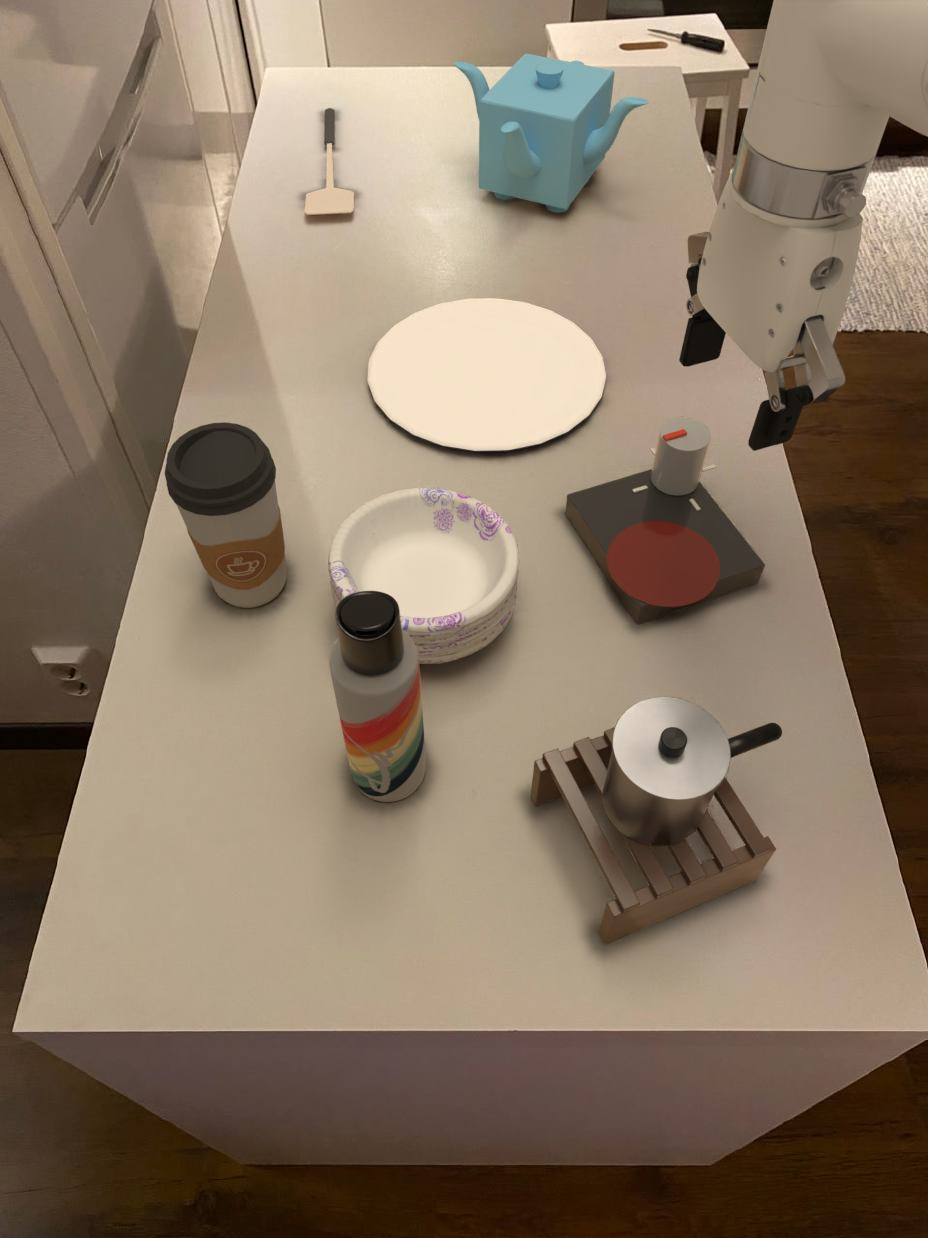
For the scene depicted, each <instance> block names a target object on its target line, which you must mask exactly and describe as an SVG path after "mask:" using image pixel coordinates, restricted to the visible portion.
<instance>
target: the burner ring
mask: <svg viewBox="0 0 928 1238" xmlns="http://www.w3.org/2000/svg"><path fill="white" fill-rule="evenodd" d="M607 566H608V570H609V572H610V575H611V576H612V578H613V580H614V581H615V583H616V584H617V585H618V586H619V587H620V588H621V589H622V590H623V591H624V592H626V593H627V594H628V595H630V596H632V597H633V598H635V599H637V600H639V601H641V602H644V603H647V604H650V605H654V606H660V607H680V606H686V605H689V604H693V603H695V602H697V601H699V600H701V599H703V598H704V597H706V596H707V595H708V594H709V593H710V592H711V591H712V590H713V589H714V587H715V586H716V584H717V582H718V579H719V575H720V563H719V559H718V556H717V554H716V552H715V550H714V549H713V547H712V546H711V545H710V544H709V542H708V541H707V540H706V539H704V538H703V537H702V536H701V535H699V534H698V533H697V532H695V531H693V530H691V529H689V528H687V527H685V526H682V525H679V524H675V523H671V522H664V521H649V522H642V523H639V524H635V525H633V526H630V527H628V528H626V529H624V530H623V531H622V532H620V533H619V534H618V535H617V536H616V537H615V538H614V539H613V541H612V542H611V544H610V546H609V549H608V552H607Z"/></svg>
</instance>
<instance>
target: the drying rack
mask: <svg viewBox="0 0 928 1238" xmlns="http://www.w3.org/2000/svg"><path fill="white" fill-rule="evenodd" d="M614 728H615V726H614V727H610V728H608V729H605V730H604V731H603V734H602V735H601V736H598V737H594V738H590V737H589V736H587V737H583V738H582V739H578V740H576V741H574V742H573V745H572V746H570V747H568V748H565V749H562V750H560V749H559V748H554V749H552V750H549V751H546V752H544V753H542V757H541V758H537V759H536V760H534V763H533V771H532V780H531V787H530V798H531V800H532V802H533V804H534V806H535V807H539V806H541V805H544V804H547V803H548V802H551V801H554V800H556V799H559V798H563V800H564V803H565V804H566V806H567V808H568V810H569V812H570V814H571V816H572V819H573V820H574V822H575V824H576V826H577V828H578V830H579V831H580V833H581V835H582V837H583V839H584V841H585V843H586V845H587V847H588V849H589V850H590V852H591V855H592V857H593V858H594V860H595V862H596V864H597V866H598V868H599V870H600V872H601V874H602V876H603V878H604V880H605V882H606V884H607V886H608V888H609V890H610V891H611V893H612V895H613V897H614V899H613V900H611V901H608V902H607V903H606V904H605V908H604V911H603V915H602V918H601V921H600V924H599V927H598V930H597V933H598V935H599V938H600V939H601V942H602V943H603V945H604V946H606V945H608V944H610V943H613V942H615V941H618V940H620V939H622V938H625V937H628V936H630V935H632V934H635V933H636V932H639V931H641V930H643V929H645V928H648V927H650V926H653V925H655V924H658V923H660V922H661V921H664V920H667V919H669V918H671V917H675V916H677V915H679V914H681V913H684V912H686V911H688V910H690V909H693V908H695V907H697V906H700V905H702V904H704V903H708V902H710V901H712V900H714V899H716V898H718V897H721V896H723V895H725V894H728V893H730V892H733V891H735V890H737V889H739V888H742V887H745V886H747V885H749V884H751V883H753V882H756V881H758V878H759V877H760V875H761V874H762V872H763V870H764V869H765V868H766V866H767V864H768V863H769V861H770V860H771V859H772V857H773V855H774V853H775V852H776V851H777V847H776V846H775V844H774V843H773V841H772V840H771V838H770V837H769V836H764V835H763V834H762V832H761V831H760V829H759V827H758V826H757V824H756V823H755V821H754V819H753V818H752V817H751V815H750V813H749V812H748V810H747V809H746V807H745V806H744V804H743V803H742V801H741V800H740V798H739V796H738V794H737V793H736V792H735V790H734V789H733V787H732V786H731V783H730V782H729V780H728V779H727V778H726V777H725V778H724V780H723V781H722V782H721V784H720V785H719V786H718V787H717V788H716V790H715V792H714V794H713V796H714V798H715V799H716V801H717V802H718V804H719V806H720V807H721V809H722V810H723V812H724V814H725V816H726V817H727V818H728V820H729V822H730V823H731V825H732V826H733V828H734V830H735V832H736V833H737V834H738V836H739V838H740V839H741V841H742V843H743V844H744V845H743V846H741V847H738V848H736V849H733V850H732V848H731V846H730V844H729V843H728V841H727V839H726V838H725V836H724V834H723V833H722V832H721V829H720V828H719V827H718V825H717V823H716V822H715V820H714V818H713V817H712V815H711V813H710V812H709V810H708V809H707V810H706V812H705V814H704V816H703V818H702V821H701V823H700V824H699V826H698V828H697V829H696V831H697V833H698V834H699V836H700V838H701V840H702V842H703V843H704V844H705V846H706V848H707V849H708V852H709V853H710V854H711V856H712V858H711V859H709V860H707V861H705V862H702V863H700V861H699V860H698V858H697V855H696V854H695V853H694V850H693V849H692V848H691V845H690V844H689V842H688V841H687V838H686V839H685V840H683V841H681V842H679V843H676V844H673V845H668V846H666V848H667V849H668V850H669V852H670V855H672V858H673V859H674V861H675V863H676V865H677V866H678V868H679V870H680V872H678V873H675V874H673V875H671V876H669V877H668V875H667V874H666V871H665V870H664V869H663V867H662V865H661V863H660V862H659V859H658V858H657V856H656V854H655V852H654V851H653V849H652V847H651V845H645V844H642V843H639V842H637V841H634V840H632V839H631V838H629V837H627V836H626V835H624V834H623V833H622V832H621V831H619V833H620V834H621V837H622V838H623V840H624V842H625V844H626V846H627V848H628V850H629V852H630V853H631V855H632V857H633V859H634V861H635V862H636V864H637V867H638V869H639V870H640V872H641V874H642V875H643V877H644V879H645V881H646V883H647V885H646V886H644V887H642V888H639V889H637V890H634V888H633V886H632V885H631V883H630V881H629V879H628V877H627V875H626V873H625V871H624V869H623V867H622V866H621V864H620V862H619V860H618V858H617V856H616V855H615V853H614V850H613V849H612V846H611V845H610V843H609V841H608V839H607V838H606V835H605V834H604V831H603V829H602V828H601V826H600V824H599V822H598V820H597V819H596V817H595V815H594V813H593V811H592V809H591V808H590V806H589V803H588V802H587V800H586V798H585V797H584V794H583V792H582V790H583V789H585V788H588V787H591V786H593V785H594V787H595V790H596V791H597V793H598V795H599V797H600V798H601V800H602V801H603V786H604V782H605V778H606V774H607V770H608V766H609V761H610V757H611V753H612V736H613V732H614Z"/></svg>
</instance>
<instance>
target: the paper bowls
mask: <svg viewBox="0 0 928 1238" xmlns="http://www.w3.org/2000/svg"><path fill="white" fill-rule="evenodd" d="M329 547H330V548H329V552H328V557H327V558H328V559H327V560H328V562H327V566H328V576H329V578H330V579H329V580H330V581H329V582H330V588H331V594H332V599H333V605H334V607H335V609H336V608H337V606H338V604H339V602H340V601H341V600H342V599H344V598H345V597H346V596H348V595H350V594H353V593H356V592H361V591H379V592H383V593H386V594H388V595H390V596H392V597H393V598H394V599H395V600H396V601H397V603H398V606H399V610H400V618H401V627H402V630H404V631H405V632H406V633H407V634H408V635H409V636H410V637H411V638H412V639H413V641H414V643H415V645H416V648H417V651H418V657H419V665H420V664H423V665H425V664H427V665H428V664H430V665H431V664H433V665H434V664H443V663H444V664H445V663H449V662H452V661H453V662H454V661H456V660H459V659H463V658H466V657H469V656H470V655H473V654H474V653H476V652H478V651H480V650H482V649H484V648H485V647H487V646H488V645H489V644H491V643H492V642H493V641H494V640H495V639H496V638H497V637H498V636H499V635H500V634H501V633H502V632H503V631H504V629H505V628H506V626H507V624H508V623H510V622H509V621H510V620H511V618H512V616H513V613H514V611H515V606H516V604H517V598H518V584H519V583H518V581H519V572H520V571H519V570H520V560H521V559H520V550H519V544H518V541H517V539H516V537H515V535H514V532H513V531H512V529H511V528H510V526H509V525H508V523H507V522H506V521H505V520H504V518H502V516H500V515H499V513H498V512H497V511H496V510H494V509H493V508H491V507H490V506H489V505H487V504H485V503H484V502H482V501H480V500H479V499H476V498H474V497H472V496H470V495H468V494H465V493H462V492H458V491H456V490H455V491H454V490H450V489H445V488H438V487H413V488H404V489H399V490H394V491H391V492H388V493H385V494H382V495H379V496H377V497H375V498H371V500H368V501H366V502H365V503H363V504H362V505H361V506H358V507H357V508H356V509H355V510H353V511H352V513H350V514H349V515H348V516H347V517H346V518H345V519H344V521H342V523H341V525H340V526H339V527H338V528H337V530H336V532H335V534H334V536H333V538H332V540H331V544H330V546H329Z"/></svg>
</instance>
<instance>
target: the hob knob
mask: <svg viewBox="0 0 928 1238" xmlns="http://www.w3.org/2000/svg"><path fill="white" fill-rule="evenodd" d="M657 438H658V439H657V442H656V443H657V444H656V448H655V450H656V452H655V456H654V457H653V462H652V467H651V469H652V471H651V481H652V483H653V485H654V486H655V487H656V488H657V489H658V490H660V491H662V492H664V493H666V494H669V495H675V496H681V495H686V494H689V493H691V492H693V491H694V490H695V489H696V488H697V486H698V484H699V481H700V480H701V476H702V473H703V471H702V469H703V468H704V465H705V461H706V457H707V454H708V451H709V447H710V442H711V439H712V433H711V430H710V428H709V427H708V425H706V424H705V423H704V422H703V421H701V420H698V419H696V418H693V417H688V416H675V417H672V418H669V419H666V421H665V422H663V424H662V425H661V427H660V430H659V433H658V437H657Z"/></svg>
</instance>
